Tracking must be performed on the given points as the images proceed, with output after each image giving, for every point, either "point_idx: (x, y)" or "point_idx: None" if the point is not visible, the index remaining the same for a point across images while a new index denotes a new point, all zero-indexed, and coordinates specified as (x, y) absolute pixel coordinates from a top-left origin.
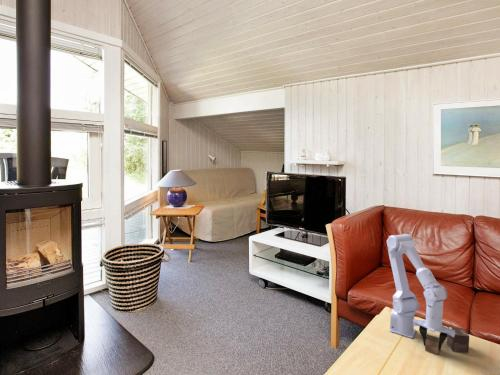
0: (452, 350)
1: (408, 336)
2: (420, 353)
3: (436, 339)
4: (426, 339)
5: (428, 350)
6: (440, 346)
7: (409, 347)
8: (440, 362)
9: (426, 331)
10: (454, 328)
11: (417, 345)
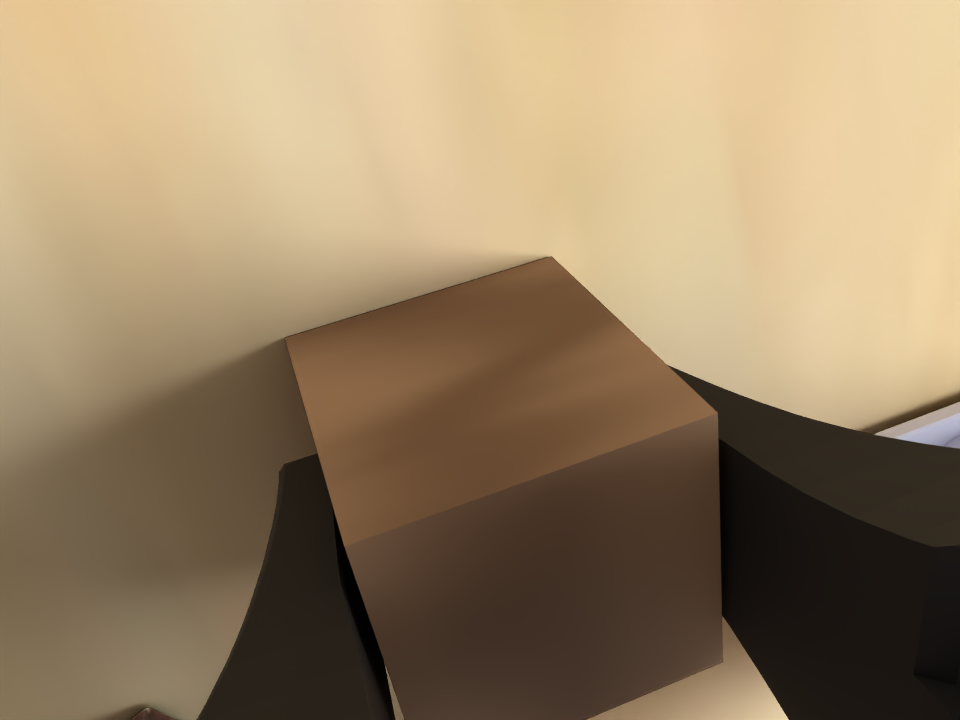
0: (151, 716)
1: (910, 428)
2: (599, 53)
3: (470, 662)
4: (696, 421)
5: (496, 293)
6: (285, 531)
7: (842, 96)
8: (66, 61)
9: (837, 686)
10: None
11: (720, 317)
